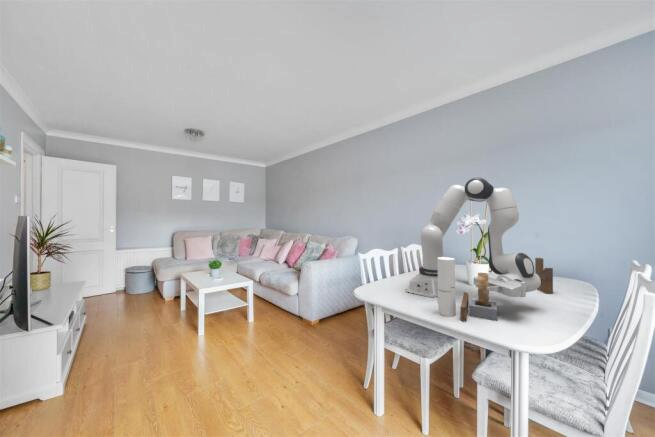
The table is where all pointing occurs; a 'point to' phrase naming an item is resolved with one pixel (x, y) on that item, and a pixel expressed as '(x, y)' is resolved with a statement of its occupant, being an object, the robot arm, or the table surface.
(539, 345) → the table surface
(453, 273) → the cylindrical container
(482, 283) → the brown wooden tall bar
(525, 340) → the table surface
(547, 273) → the wooden block
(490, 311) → the socket block
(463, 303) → the rail
